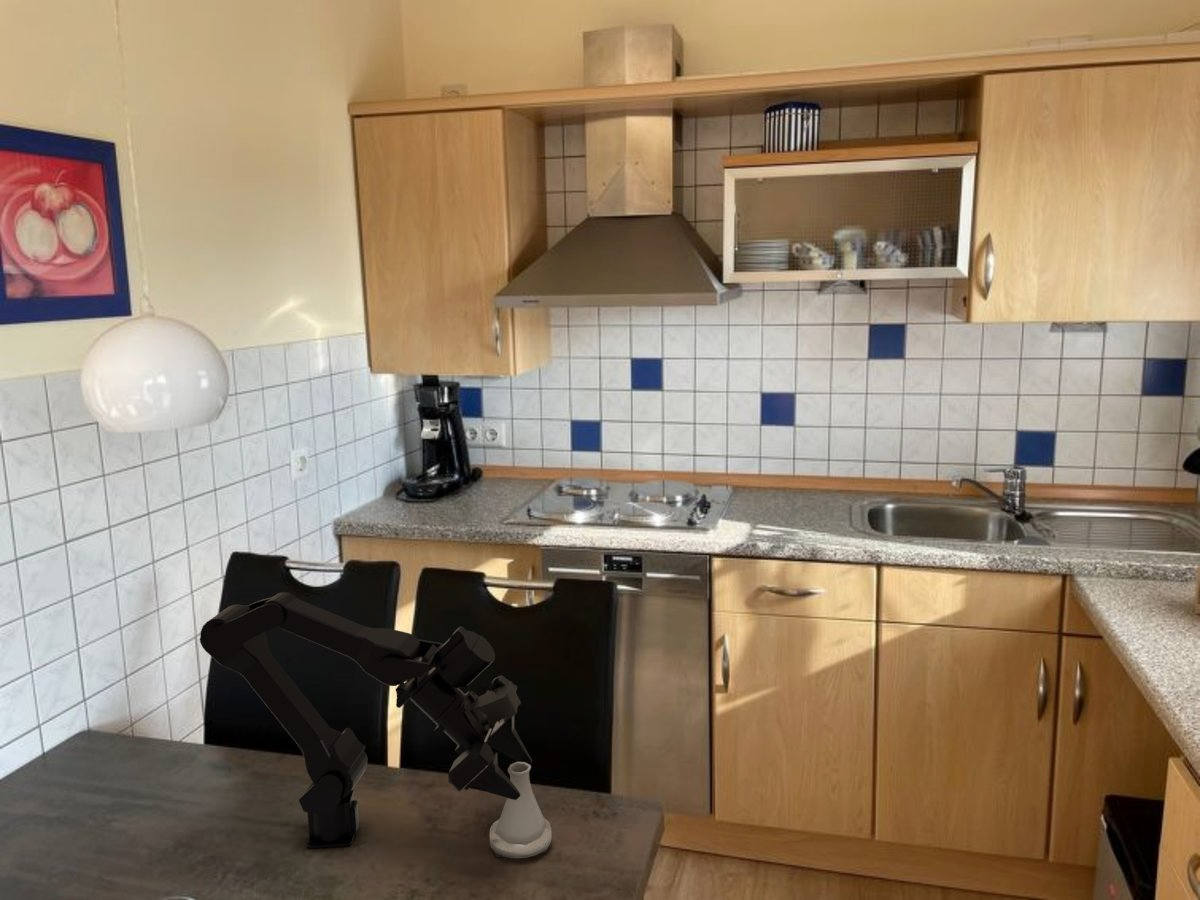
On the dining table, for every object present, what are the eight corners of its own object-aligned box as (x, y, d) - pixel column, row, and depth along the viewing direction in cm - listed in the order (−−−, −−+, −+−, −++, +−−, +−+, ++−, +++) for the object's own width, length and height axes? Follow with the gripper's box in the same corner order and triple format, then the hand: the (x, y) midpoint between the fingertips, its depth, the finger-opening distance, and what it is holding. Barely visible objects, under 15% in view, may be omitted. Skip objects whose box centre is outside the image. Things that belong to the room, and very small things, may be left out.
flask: (528, 850, 129) (527, 785, 127) (486, 836, 132) (484, 772, 131) (555, 824, 135) (553, 761, 133) (513, 811, 139) (512, 750, 137)
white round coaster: (489, 866, 130) (488, 850, 129) (490, 829, 138) (490, 814, 138) (552, 862, 130) (552, 846, 130) (550, 825, 139) (550, 810, 139)
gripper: (468, 698, 121) (553, 780, 122) (498, 644, 139) (571, 715, 140) (413, 751, 123) (496, 830, 124) (449, 690, 141) (521, 760, 142)
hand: (524, 780), depth 132 cm, fingers open, 9 cm apart
